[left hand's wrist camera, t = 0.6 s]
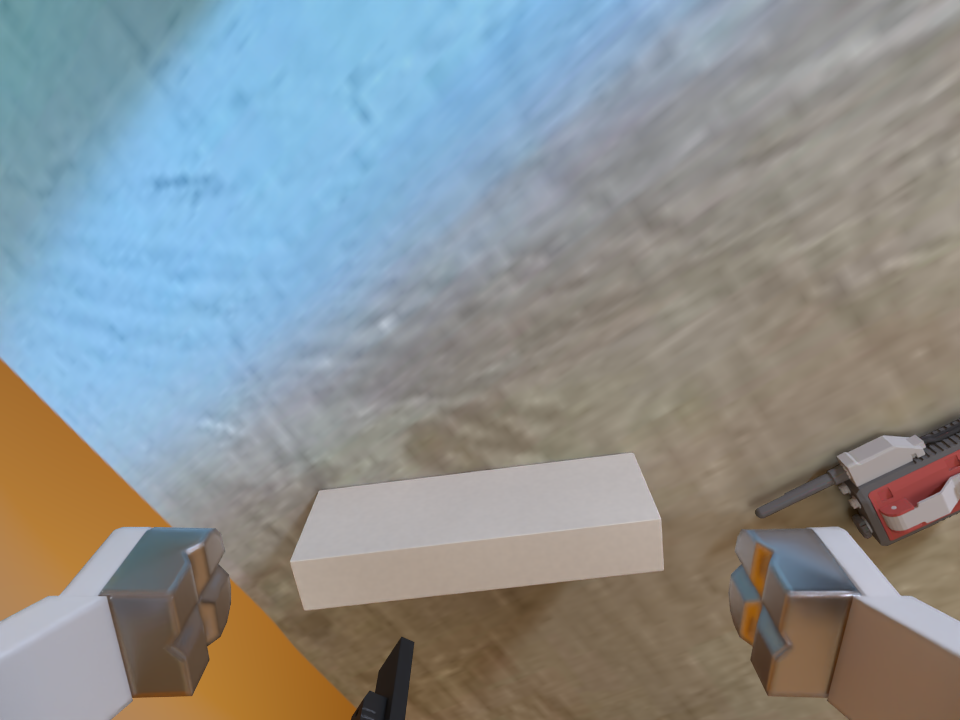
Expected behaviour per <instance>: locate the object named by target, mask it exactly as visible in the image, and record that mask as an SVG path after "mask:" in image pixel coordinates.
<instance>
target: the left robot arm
mask: <svg viewBox="0 0 960 720" xmlns="http://www.w3.org/2000/svg"><path fill="white" fill-rule="evenodd" d="M224 552H225V549H224V544H223V539H222V534H221V533H220V532H219V531H218V530H217V529H212V528H165V527H154V528H150V527H122V528H119V529H116V530H114V531H113V532H112V533H111V534H110V536H109V537H108V538H107V539H106V540H105V542H104V543H103V544H102V545H101V546H100V548H99V549H98V550H97V551H96V552H95V554H94V555H93V556H92V557H91V558H90V560H89V561H88V562H87V563H86V564H85V566H84V567H83V568H82V569H81V570H80V571H79V573H78V574H77V575H76V576H75V577H74V579H73V580H72V581H71V582H70V583H69V585H68V586H67V587H66V588H65V589H64V591H63V592H62V593H61V594H60V595H59V596H48V597H46V598H44V599H42V600H40V601H38V602H36V603H34V604H33V605H31V606H29V607H27V608H25V609H23V610H21V611H19V612H17V613H15V614H13V615H12V616H10V617H8V618H6V619H4V620H2V621H0V720H111V719H112V718H113V717H115V716H116V715H117V714H118V713H119V712H120V711H122V710H123V709H124V708H125V707H126V706H127V705H128V704H130V703H131V702H132V701H133V700H132V698H140V697H174V696H192V695H193V693H194V691H195V689H196V687H197V685H198V683H199V681H200V679H201V676H202V674H203V672H204V670H205V668H206V666H207V664H208V662H209V655H208V649H207V646H208V645H210V644H211V643H213V642H214V641H215V640H217V639H218V638H219V637H220V636H221V634H222V632H223V630H224V627H225V625H226V623H227V619H228V614H229V610H230V605H231V585H230V578H229V574H228V573H227V572H226V571H225V570H224V569H223V568H222V567H221V566H220V565H219V564H218V563H219V562H220V560H221V558H222V556H223V554H224ZM735 552H736V554H737V556H738V558H739V560H740V562H741V563H742V564H741V565H740V566H739V567H738V568H737V569H736V570H735V571H734V572H733V573H732V574H731V579H730V586H729V602H730V612H731V615H732V619H733V623H734V625H735V628H736V630H737V632H738V634H739V636H740V637H741V638H742V639H743V640H745V641H746V642H747V643H749V644H750V645H752V646H753V649H752V654H751V662H752V664H753V666H754V668H755V670H756V672H757V674H758V676H759V678H760V681H761V683H762V685H763V687H764V689H765V691H766V693H767V695H768V696H784V697H819V698H828V699H827V701H828V702H829V703H831V704H832V705H833V706H834V707H835V708H836V709H838V710H839V711H840V712H841V713H842V714H843V715H844V716H846V717H847V718H848V719H849V720H960V621H958V620H956V619H954V618H952V617H950V616H948V615H946V614H945V613H943V612H941V611H939V610H937V609H935V608H933V607H931V606H929V605H927V604H926V603H924V602H922V601H920V600H918V599H916V598H914V597H912V596H901V595H900V594H899V593H898V592H897V591H896V589H895V588H894V587H893V586H892V585H891V583H890V582H889V581H888V580H887V579H886V578H885V576H884V575H883V574H882V573H881V572H880V570H879V569H878V568H877V567H876V566H875V564H874V563H873V562H872V561H871V560H870V558H869V557H868V556H867V555H866V554H865V552H864V551H863V550H862V549H861V548H860V546H859V545H858V544H857V543H856V542H855V541H854V539H853V538H852V537H851V536H850V535H849V533H848V532H847V531H846V530H844V529H842V528H840V527H814V528H806V529H742V530H741V532H740V534H739V536H738V538H737V543H736V548H735Z"/></svg>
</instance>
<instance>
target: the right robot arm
mask: <svg viewBox="0 0 960 720" xmlns="http://www.w3.org/2000/svg"><path fill="white" fill-rule="evenodd" d="M413 648H414V642H413V641H410V640H408V639H406V638H403V637H401V638H400V640H399V641H398V643H397V644H396V646H395V647H394V649H393V650H392V652H391V653H390V655H389V656H388V658H387V659H386V661H385V662H384V664H383V666H382V667H381V669H380V670H379V673H378V679H377V685H376V690H375V693H374V692H372V691H369V692H368V694H367V695H366V696H365V698H364V699H363V701H362V702H361V704H360V705H359V707H358V708H357V710H356V711H355V713H354V714H353V716H352V718H351V720H405V714H406V706H407V697H408V689H409V681H410V673H411V665H412V657H413Z"/></svg>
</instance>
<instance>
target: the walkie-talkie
mask: <svg viewBox="0 0 960 720" xmlns="http://www.w3.org/2000/svg"><path fill="white" fill-rule="evenodd" d="M836 457H837V459H838V461H839V463H840V465H839V466H837V467H834V468H832V469H830V470H828V471H827V473H826V474H824V475H822V476H820V477H818V478H816V479H814V480H812V481H809V482H807V483H805V484H803V485H801V486H799V487H797V488H795V489H793V490H791V491H789V492H787V493H785V494H784V495H783V496H781V497H779V498H777V499H775V500H773V501H771V502H769V503H767V504H765V505H763V506H761V507H759V508H757V509H756V510H755V514H756V516H757V517H759V518H765V517H767V516H769V515H771V514H774V513H776V512H778V511H780V510H782V509H784V508H786V507H788V506H790V505H792V504H794V503H796V502H798V501H801V500H803V499H805V498H807V497H809V496H811V495H813V494H815V493H817V492H819V491H821V490H823V489H825V488H828V487H830V486H832V485H838V484H840V483H842V485H840V486H838V487H839V489H840V491H841V492H842V493H843V494H844V495H845V494H847V493H849V494H850V496H851V499H849V500H848V501H849V503H850V505H851V506H852V507H853V508H854V509H855V508H857V510H858V512H859V514H860V515H858V514H855V515H853V516H852V520H853V522H854V524H855V525H856V527H857V528H858V530H859V532H860V533H861V534H862V535H863V536H864V537H865V538H867V539H868V538H870V537H871V536H872V535H873V536H874V537H875V539H876V540H877V541H878V542H879V543H880V544H881V545H884V546H888V545H890V544H892V543H895V542H897V541H899V540H901V539H903V538H906V537H908V536H910V535H912V534H914V533H917V532H919V531H921V530H923V529H925V528H927V527H930V526H932V525H934V524H936V523H938V522H939V521H942V520H945V519H946V518H948V517H951V516H953V515H955V514H958V513H959V512H960V419H958V420H957V421H954V422H952V423H950V424H948V425H945V426H944V427H942V428H939V429H938V430H936V431H933V432H931V433H930V434H928V435H925V436H923V437H920V438H919V437H918V436H916V435H914V436H912V437H910V438H909V437H897V436H885V435H883V436H880V437H878V438H876V439H874V440H872V441H870V442H868V443H866V444H864V445H862V446H860V447H858V448H855V449H853V450H851V451H849V452H844V453H842V454H840V455H838V456H836Z"/></svg>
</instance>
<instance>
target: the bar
mask: <svg viewBox="0 0 960 720" xmlns="http://www.w3.org/2000/svg"><path fill="white" fill-rule="evenodd" d="M290 565H291V568H292V571H293V575H294V578H295V582H296V585H297V588H298V592H299V595H300V599H301V602H302V605H303V609H304V611H306V610H315V609H324V608H333V607H342V606H351V605H360V604H369V603H378V602H387V601H396V600H404V599H413V598H422V597H431V596H440V595H449V594H458V593H467V592H476V591H485V590H494V589H503V588H512V587H521V586H530V585H539V584H548V583H557V582H565V581H574V580H583V579H592V578H601V577H610V576H619V575H628V574H637V573H646V572H655V571H663V570H664V564H663V545H662V526H661V518H660V515H659V513H658V510H657V508H656V506H655V503H654V501H653V498H652V496H651V494H650V491H649V489H648V487H647V484H646V482H645V479H644V477H643V475H642V472H641V470H640V467H639V465H638V463H637V460H636V458H635V456H634V453H624V454H616V455H608V456H600V457H591V458H583V459H575V460H567V461H558V462H550V463H542V464H534V465H525V466H517V467H509V468H501V469H492V470H484V471H476V472H468V473H460V474H451V475H443V476H435V477H427V478H418V479H410V480H402V481H394V482H385V483H377V484H369V485H361V486H352V487H344V488H336V489H328V490H319V492H318V494H317V497H316V499H315V501H314V504H313V506H312V509H311V511H310V514H309V516H308V519H307V521H306V523H305V526H304V528H303V531H302V533H301V536H300V538H299V540H298V543H297V545H296V548H295V550H294V553H293V555H292V558H291V560H290Z"/></svg>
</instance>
